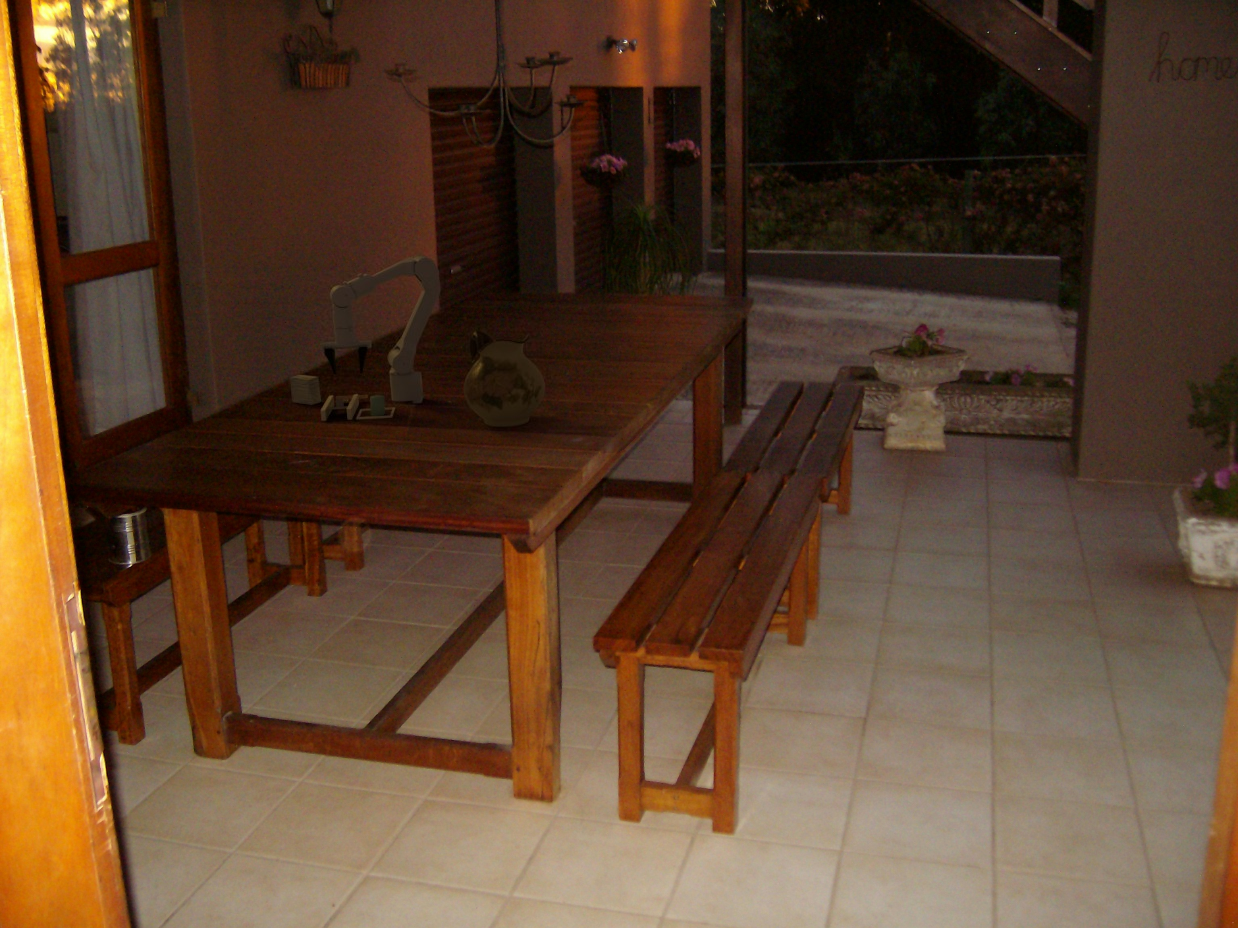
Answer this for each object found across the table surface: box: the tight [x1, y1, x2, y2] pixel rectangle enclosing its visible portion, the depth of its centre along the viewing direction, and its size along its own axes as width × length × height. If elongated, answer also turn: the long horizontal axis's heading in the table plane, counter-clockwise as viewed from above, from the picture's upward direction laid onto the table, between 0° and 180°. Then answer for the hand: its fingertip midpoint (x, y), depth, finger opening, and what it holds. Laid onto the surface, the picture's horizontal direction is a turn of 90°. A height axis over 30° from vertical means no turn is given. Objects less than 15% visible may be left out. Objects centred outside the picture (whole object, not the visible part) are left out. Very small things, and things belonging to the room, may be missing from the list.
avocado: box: [369, 394, 386, 417], centre depth 351 cm, size 4×4×6 cm
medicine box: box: [289, 374, 322, 406], centre depth 368 cm, size 8×4×9 cm, turn 58°
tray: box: [355, 406, 396, 420], centre depth 353 cm, size 10×10×1 cm
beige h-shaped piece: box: [320, 393, 360, 422], centre depth 355 cm, size 8×18×4 cm, turn 5°
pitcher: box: [463, 329, 546, 428], centre depth 340 cm, size 22×24×25 cm
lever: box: [327, 394, 369, 410], centre depth 358 cm, size 9×19×4 cm, turn 5°
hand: (348, 373), depth 362 cm, fingers open, 7 cm apart
